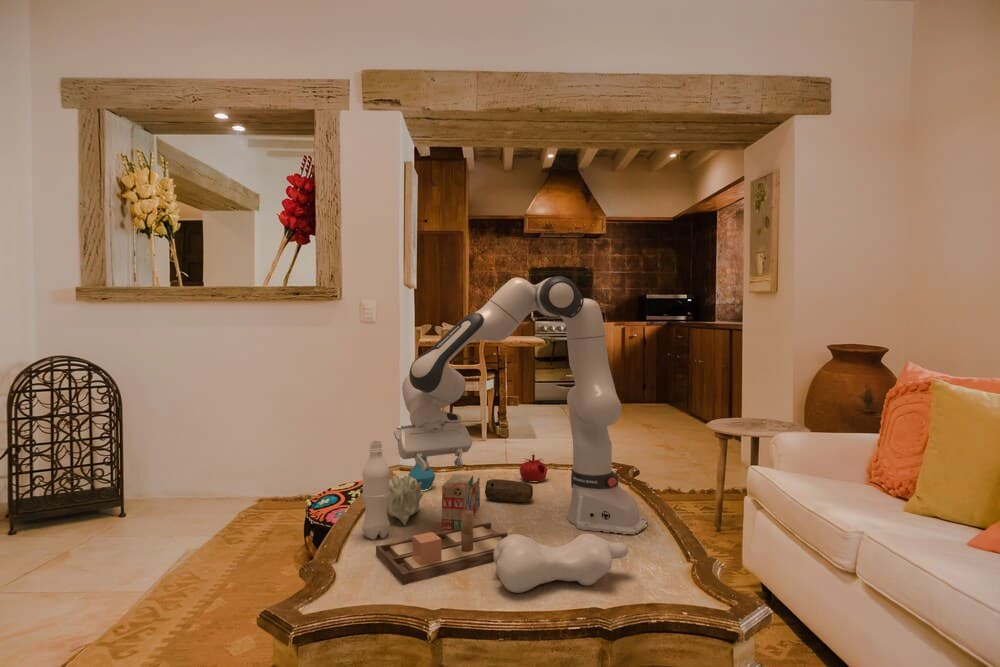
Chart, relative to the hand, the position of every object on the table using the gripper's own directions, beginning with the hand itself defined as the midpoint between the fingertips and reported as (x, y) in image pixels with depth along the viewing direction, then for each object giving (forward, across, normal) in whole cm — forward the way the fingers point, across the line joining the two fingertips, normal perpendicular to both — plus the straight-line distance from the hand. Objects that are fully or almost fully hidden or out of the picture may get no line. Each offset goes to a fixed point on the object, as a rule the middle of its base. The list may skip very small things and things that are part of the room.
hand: (443, 467), depth 143 cm
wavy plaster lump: (-2, -2, +30) cm, 30 cm away
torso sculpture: (+37, +14, -10) cm, 41 cm away
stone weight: (0, +32, +27) cm, 42 cm away
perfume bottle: (-18, +14, +46) cm, 51 cm away
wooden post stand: (+22, -2, +3) cm, 22 cm away
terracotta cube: (+21, -10, +3) cm, 24 cm away
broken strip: (+16, -2, +11) cm, 20 cm away
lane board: (+20, -2, +7) cm, 21 cm away
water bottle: (+5, -14, +22) cm, 27 cm away
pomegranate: (-11, +52, +37) cm, 65 cm away
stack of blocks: (+4, +13, +23) cm, 27 cm away
